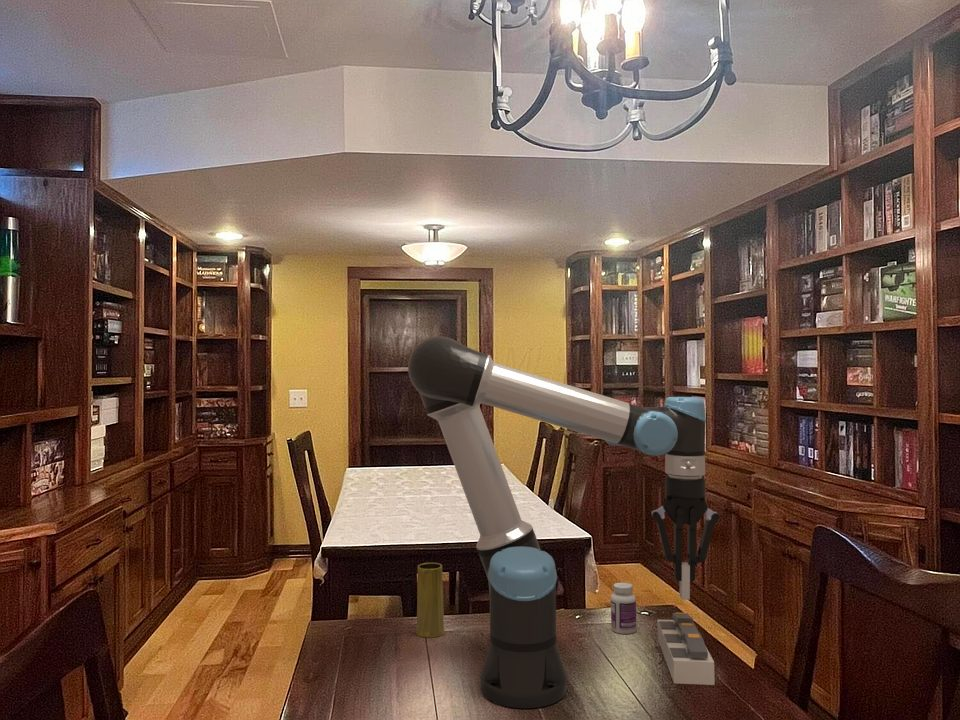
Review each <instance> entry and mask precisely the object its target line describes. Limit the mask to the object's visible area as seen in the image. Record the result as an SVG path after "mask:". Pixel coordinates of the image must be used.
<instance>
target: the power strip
mask: <svg viewBox="0 0 960 720" xmlns="http://www.w3.org/2000/svg"><path fill="white" fill-rule="evenodd" d="M656 621H657V641H658V644H659V646H660V649H661V652H662V655H663V657H664V660H665V663H666V665H667V668H668V670H669V674H670V676H671V679H672V682H673V684H674V685H675V684H677V685H678V684H679V685H681V684H682V685H704V686H705V685H706V686H707V685H708V686H715V661H714V659H713V657H712V655H711V653H710V652H709V650H708V648H707V647H706V649H707V651H708V658H690V655H689V652H688V649H687V646H686V643H685V640H683V638H682V636H681V634H680V632H679V630H678V624H677V623H676V622H675V621H674V620H673V619H656Z"/></svg>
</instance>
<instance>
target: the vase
mask: <svg viewBox="0 0 960 720" xmlns="http://www.w3.org/2000/svg"><path fill="white" fill-rule="evenodd" d="M416 570H417V597H416V598H417V599H416V600H417V603H416V604H417V605H416V628H415V634H416V635H417V636H419V637H421V638H425V639H426V638H428V639H429V638H430V639H432V638H434V639H435V638H439V637H441V636H443V635H444V634H445V633H446V630H445V625H444V624H445V622H444V621H445V620H444V619H445V618H444V617H445V615H444V614H445V613H444V590H443V589H444V588H443V587H444V586H443V565H442V564H441V563H438V562H424V563H420V564H418V565H417V569H416Z"/></svg>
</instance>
